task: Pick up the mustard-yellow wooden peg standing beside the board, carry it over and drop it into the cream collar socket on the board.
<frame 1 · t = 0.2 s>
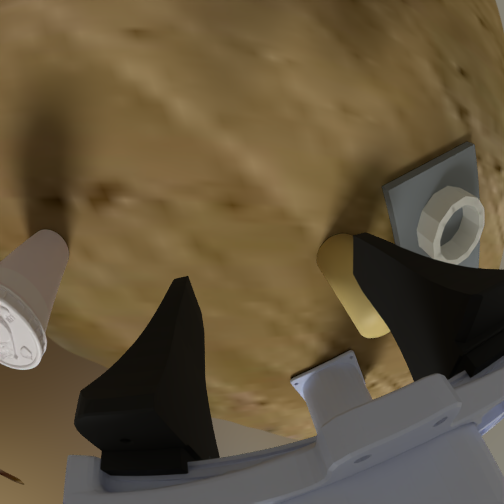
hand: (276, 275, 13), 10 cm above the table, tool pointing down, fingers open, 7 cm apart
holder: (439, 233, 26), on the table
peg: (338, 254, 25), on the table
smoothie: (50, 249, 20), on the table
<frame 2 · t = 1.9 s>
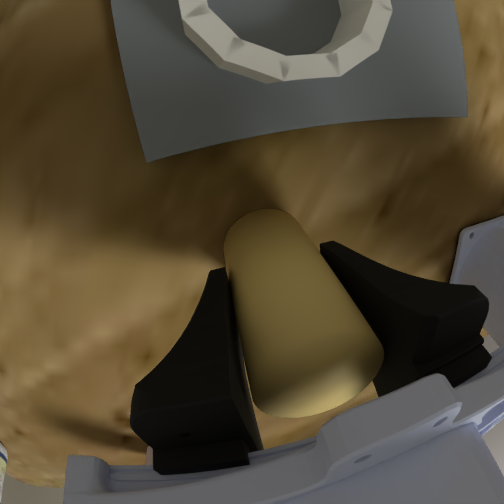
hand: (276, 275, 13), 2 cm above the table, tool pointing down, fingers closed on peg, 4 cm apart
holder: (313, 5, 9), on the table
peg: (264, 247, 15), on the table, touching gripper
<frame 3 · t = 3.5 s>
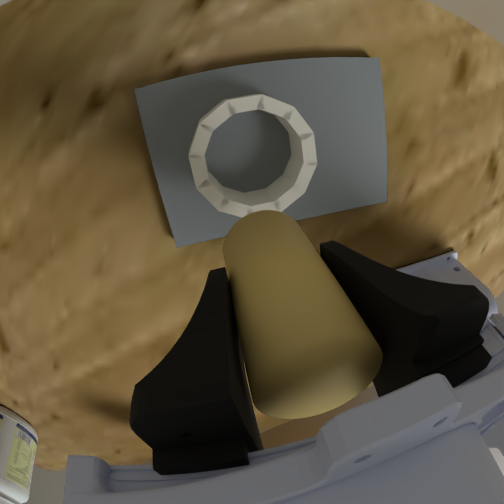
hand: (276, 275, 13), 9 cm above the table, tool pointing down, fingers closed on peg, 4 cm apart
holder: (275, 142, 19), on the table
peg: (264, 248, 15), point 7 cm above the table, touching gripper
supplement tub: (9, 419, 31), on the table
when the fingers open (5 cm above the table, at t = 5.3 s): peg drops 1 cm, resting on holder.
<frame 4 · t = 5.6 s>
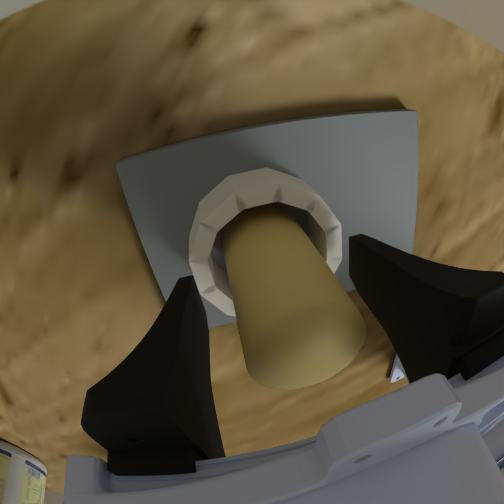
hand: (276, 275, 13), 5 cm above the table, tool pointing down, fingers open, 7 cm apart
holder: (291, 219, 17), on the table
peg: (260, 236, 16), point 1 cm above the table, touching holder
supplement tub: (16, 452, 29), on the table
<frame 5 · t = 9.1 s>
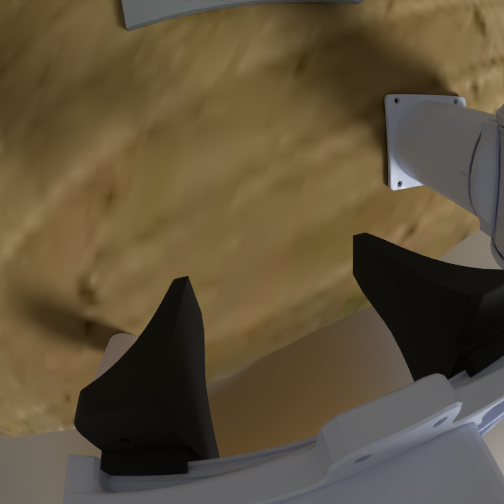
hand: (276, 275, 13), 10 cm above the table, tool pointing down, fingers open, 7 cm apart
smoothie: (127, 344, 27), on the table
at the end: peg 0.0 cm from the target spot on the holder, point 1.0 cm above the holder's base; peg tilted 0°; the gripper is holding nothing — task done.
